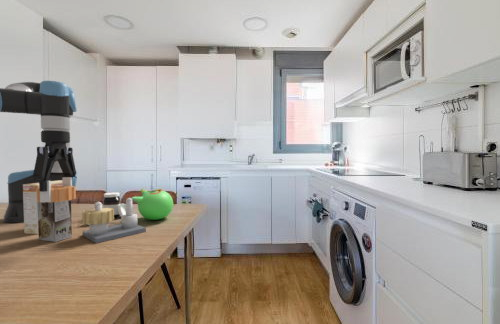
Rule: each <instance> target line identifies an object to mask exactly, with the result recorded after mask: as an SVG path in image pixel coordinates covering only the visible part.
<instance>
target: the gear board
mask: <svg viewBox="0 0 500 324" xmlns="http://www.w3.org/2000/svg"><path fill="white" fill-rule="evenodd" d="M131 198H132V197H128V198H126V199H125V205H126V215H122V216H120V220H121V221H120V223H118V224H112V225H109V223H111V222H112V221H114V220H115V218H114V209H113V208H103V202H100V201H96V202H95V203H94V208H91V209H86V210H83V211H81V213H82V214H81V215H82V217H81V218H82V219H81V221H82V224H83V225H86V226H87V225H88V228H89V229H88V230H82V236H83V237H84V238H87V240H90V241H91V242H93V243H95V244H98V243H99V244H101V243H104V242H108V241H112V240H115V239H121V238H125V237H128V236H132V235H133V236H134V235H137V234H140V233H146V230H147V229H146V227H145V226H142V225H139V223H138V214H136V213H133V207H134V206H133V200H132V199H131Z"/></svg>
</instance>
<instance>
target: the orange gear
mask: <svg viewBox="0 0 500 324" xmlns="http://www.w3.org/2000/svg"><path fill="white" fill-rule="evenodd" d="M36 192H37V202H40V191H39V188H37V189H36ZM76 192H77V191H76V188H75V186H51V202H62V201H67V200H68V201H69V200H71V201H72V200H76V199H77V198H76V196H77V195H76ZM51 202H49V203H51ZM40 203H44V202H40Z"/></svg>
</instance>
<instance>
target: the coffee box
mask: <svg viewBox="0 0 500 324" xmlns="http://www.w3.org/2000/svg"><path fill="white" fill-rule="evenodd" d="M37 207H38V233H39V234H38V241H46V242H47V241H48V242H52V243H56V242H57V243H58V242H60V241H64V240H66V239H70V238H72V237H73V231H72V230H73V229H72V228H73V227H72V226H73V225H72V223H73V222H72V200H69V201H68V200H67V201H62V202H51V203H49V202H44V203H40V202H37Z"/></svg>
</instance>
